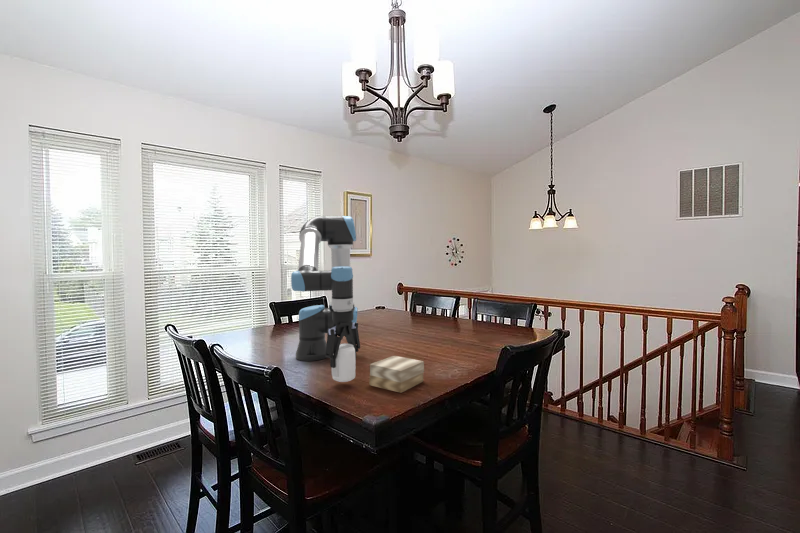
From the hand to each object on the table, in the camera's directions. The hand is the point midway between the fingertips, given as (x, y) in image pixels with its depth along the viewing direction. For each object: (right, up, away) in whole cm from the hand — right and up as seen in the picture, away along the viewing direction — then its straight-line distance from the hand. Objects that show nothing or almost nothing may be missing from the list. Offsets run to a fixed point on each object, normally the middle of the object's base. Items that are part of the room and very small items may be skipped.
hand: (343, 372), depth 139 cm
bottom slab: (+19, -5, +2) cm, 20 cm away
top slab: (+19, -1, +2) cm, 19 cm away
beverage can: (0, -2, 0) cm, 3 cm away
